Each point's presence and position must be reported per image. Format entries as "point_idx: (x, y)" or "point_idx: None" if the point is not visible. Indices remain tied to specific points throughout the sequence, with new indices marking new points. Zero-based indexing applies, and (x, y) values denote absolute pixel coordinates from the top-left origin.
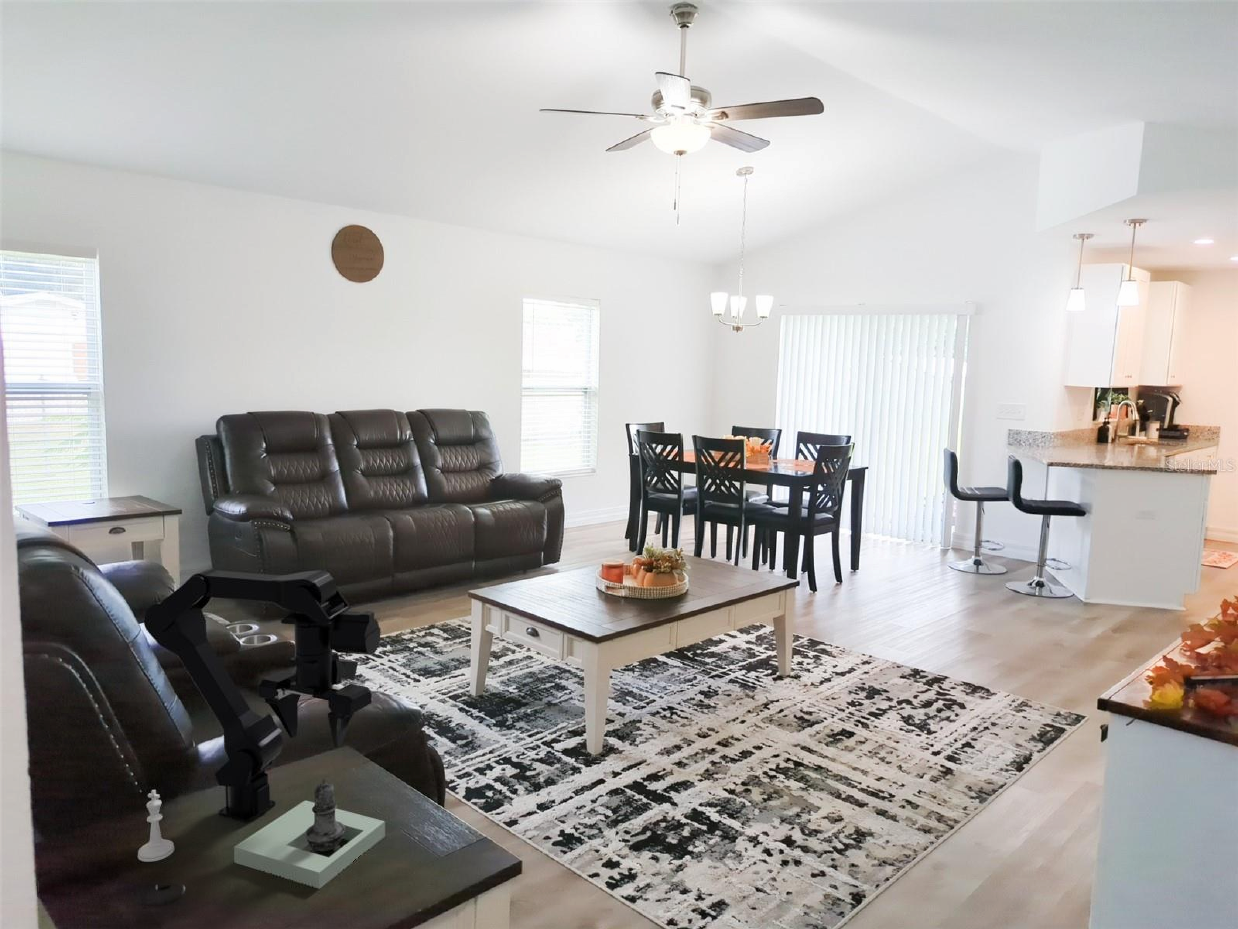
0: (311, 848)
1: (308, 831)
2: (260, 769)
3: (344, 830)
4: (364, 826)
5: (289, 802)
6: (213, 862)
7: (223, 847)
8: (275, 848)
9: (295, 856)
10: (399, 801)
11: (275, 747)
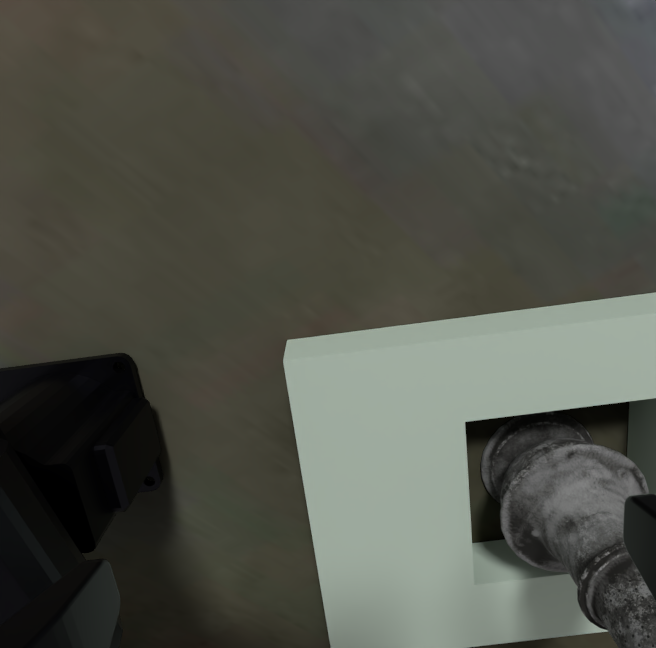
0: (483, 474)
1: (527, 549)
2: (119, 618)
3: (642, 475)
4: (654, 376)
5: (153, 309)
6: (278, 640)
7: (231, 589)
8: (458, 611)
9: (551, 607)
10: (556, 42)
11: (19, 560)
